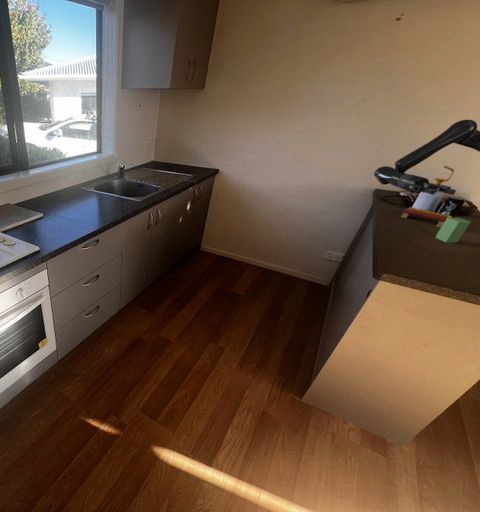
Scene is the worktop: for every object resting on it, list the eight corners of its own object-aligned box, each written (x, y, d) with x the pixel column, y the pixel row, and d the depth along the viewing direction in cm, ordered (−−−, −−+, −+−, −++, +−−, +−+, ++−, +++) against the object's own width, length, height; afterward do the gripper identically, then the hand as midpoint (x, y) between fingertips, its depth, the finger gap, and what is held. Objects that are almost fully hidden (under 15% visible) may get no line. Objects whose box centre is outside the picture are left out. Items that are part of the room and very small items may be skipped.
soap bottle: (412, 206, 172) (437, 164, 160) (434, 210, 166) (461, 167, 154) (410, 209, 167) (435, 166, 155) (432, 214, 161) (460, 169, 149)
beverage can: (455, 222, 150) (470, 200, 144) (439, 220, 152) (453, 198, 146) (446, 217, 156) (460, 196, 150) (431, 216, 158) (444, 194, 152)
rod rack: (447, 224, 147) (452, 215, 145) (441, 227, 145) (447, 218, 142) (406, 215, 160) (411, 206, 157) (400, 217, 157) (405, 208, 155)
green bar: (445, 237, 134) (458, 217, 129) (457, 242, 130) (471, 221, 125) (434, 237, 134) (447, 217, 129) (445, 242, 130) (459, 221, 125)
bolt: (429, 209, 171) (468, 216, 161) (431, 207, 167) (471, 214, 157) (435, 200, 170) (473, 206, 160) (436, 197, 167) (476, 203, 156)
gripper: (401, 175, 145) (433, 184, 131) (430, 175, 145) (465, 184, 131) (393, 190, 149) (424, 200, 135) (422, 190, 148) (455, 200, 134)
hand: (444, 192), depth 133 cm, fingers open, 8 cm apart
